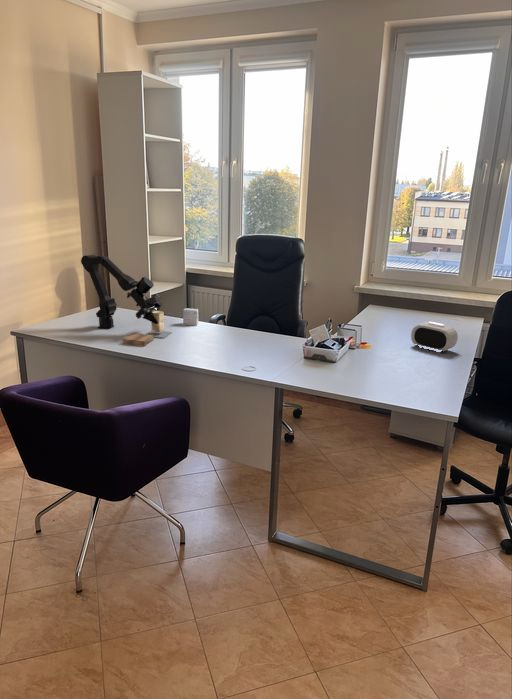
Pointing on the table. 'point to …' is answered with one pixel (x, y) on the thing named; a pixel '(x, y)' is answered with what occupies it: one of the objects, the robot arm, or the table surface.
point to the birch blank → (160, 318)
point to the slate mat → (159, 334)
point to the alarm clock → (434, 336)
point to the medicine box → (190, 316)
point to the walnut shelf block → (138, 339)
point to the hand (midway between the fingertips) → (160, 322)
